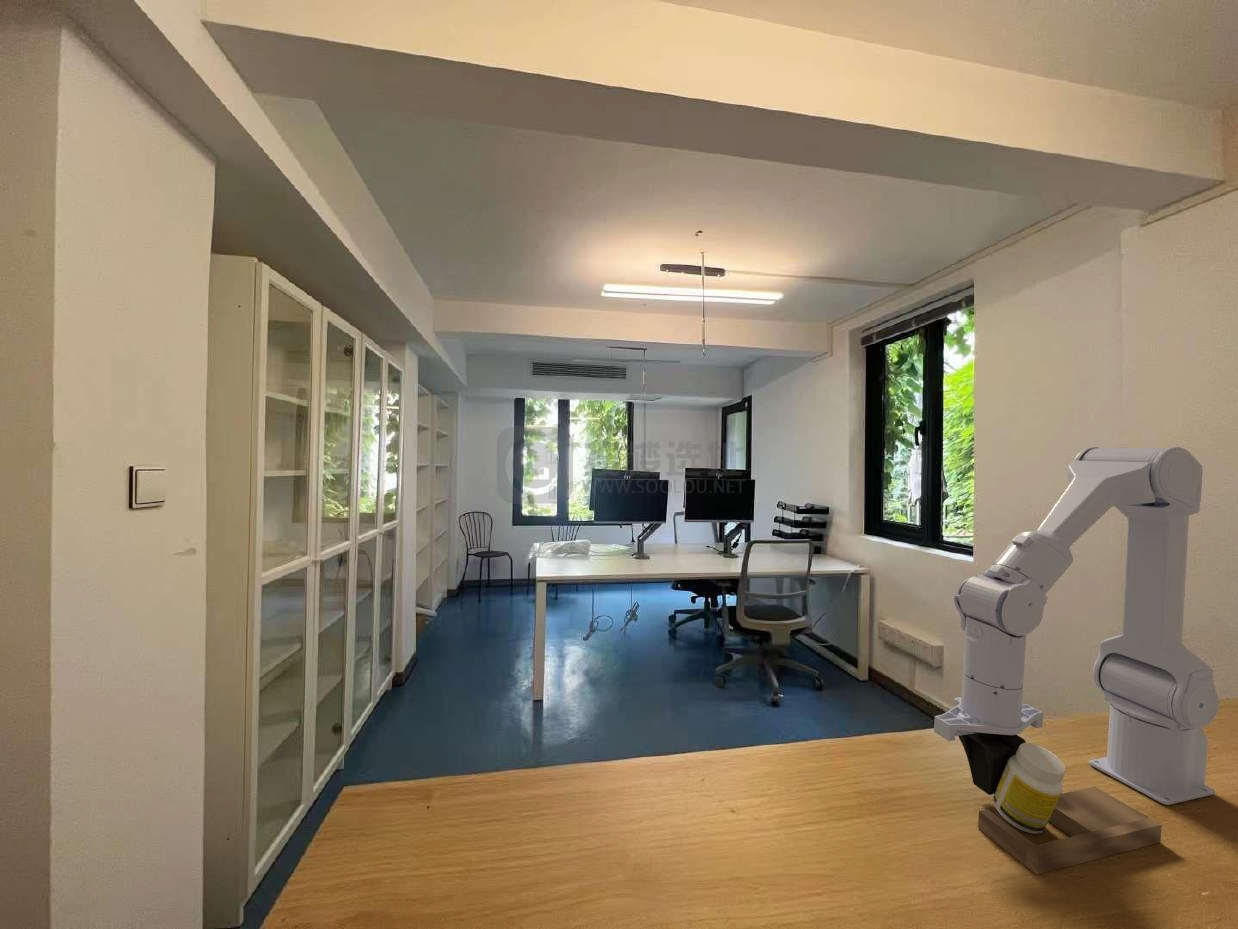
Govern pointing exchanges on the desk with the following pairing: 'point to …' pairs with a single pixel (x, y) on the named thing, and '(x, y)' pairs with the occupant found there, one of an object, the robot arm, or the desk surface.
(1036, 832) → the supplement bottle
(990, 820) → the notched board
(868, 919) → the desk surface
